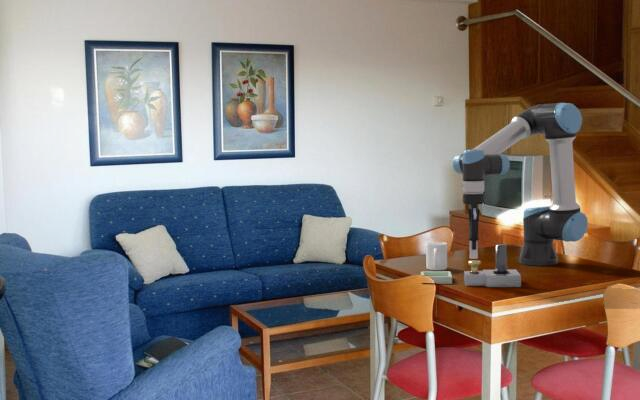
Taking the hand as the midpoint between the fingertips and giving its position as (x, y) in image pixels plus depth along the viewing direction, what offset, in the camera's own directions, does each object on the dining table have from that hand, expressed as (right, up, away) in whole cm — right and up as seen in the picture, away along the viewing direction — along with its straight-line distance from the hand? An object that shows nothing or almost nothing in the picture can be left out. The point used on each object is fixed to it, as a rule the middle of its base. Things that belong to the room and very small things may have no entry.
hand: (473, 258), depth 275 cm
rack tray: (-12, -9, +8) cm, 17 cm away
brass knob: (0, -6, +1) cm, 6 cm away
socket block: (+7, -9, 0) cm, 11 cm away
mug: (-9, -7, +31) cm, 33 cm away
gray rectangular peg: (+10, -9, 0) cm, 14 cm away
